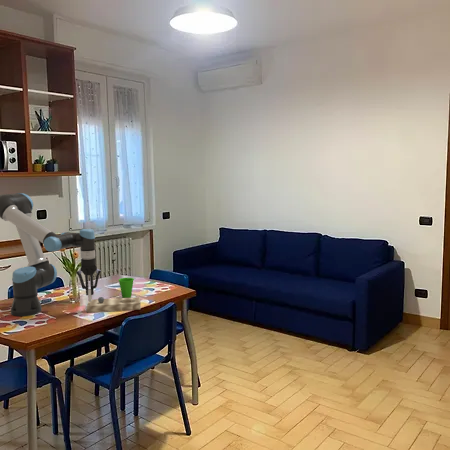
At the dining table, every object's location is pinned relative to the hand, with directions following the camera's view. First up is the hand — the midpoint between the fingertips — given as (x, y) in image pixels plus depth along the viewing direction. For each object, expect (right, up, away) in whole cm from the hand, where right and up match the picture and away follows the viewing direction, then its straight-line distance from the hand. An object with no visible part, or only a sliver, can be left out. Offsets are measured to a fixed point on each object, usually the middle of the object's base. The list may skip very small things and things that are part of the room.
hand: (90, 300), depth 252 cm
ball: (+6, 0, +1) cm, 6 cm away
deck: (+12, -4, +4) cm, 14 cm away
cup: (+15, -2, +24) cm, 28 cm away
